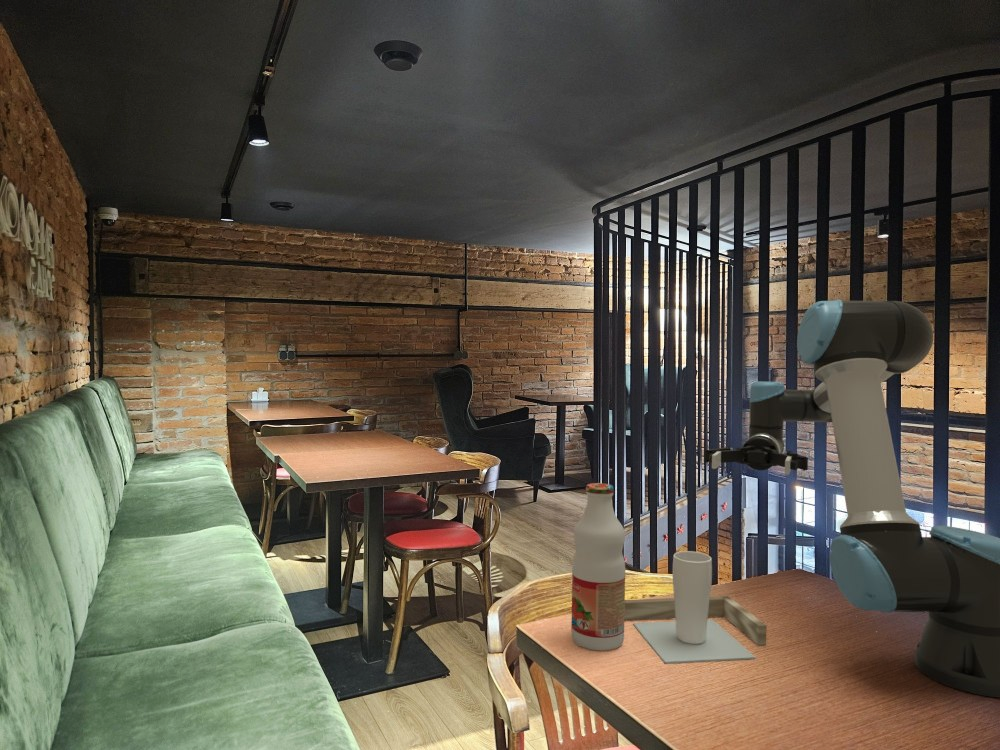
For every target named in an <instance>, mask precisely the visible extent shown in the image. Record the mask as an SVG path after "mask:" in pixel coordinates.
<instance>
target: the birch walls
mask: <svg viewBox="0 0 1000 750" xmlns="http://www.w3.org/2000/svg"><path fill="white" fill-rule="evenodd" d="M721 617H722V618H725V619H726V620H728V621H729V622H730V623H731V624H732V625H733V626H734V627H736V628H737V629H738V630H739V631H740V632H742V633H743V634H744V635H745V636H747V638H748V639H750V640H751V641H753V642H754V643H755V644H756V645H757V646H766V645H767V629H768V628H767V626H768V625H766V624H765V623H764V622H763V621H761V620H760V619H759V618H757V616H755V615H754V614H752V613H751V612H750V611H748V609H745V608H744V606H742V605H740V604H739V603H738V602H737V601H735V600H734V599H732V598H731V597H730V596H728V595H720V596H718V595H717V596H710V602H709V611H708V618H721ZM670 618H675V605H674V597H665V598H662V597H661V598H642V599H641V598H640V599H639V598H638V599H625V615H624V622H627V621H629V620H630V621H648V620H649V621H653V620H671V619H670ZM626 620H627V621H626ZM630 621H629V622H630Z"/></svg>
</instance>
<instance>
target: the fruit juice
mask: <svg viewBox="0 0 1000 750" xmlns="http://www.w3.org/2000/svg"><path fill="white" fill-rule="evenodd" d="M614 488H615V487H614V486H613V484H609V483H601V482H595V483H588V484H587V485H586V486H585V491H586V493H585V495H586V496H587V502H586V506H585V509H584V512H583V514H582V516H581V517H580V519H579V520H578V521H577V523H576V524H575V526H574V529H573V541H574V544H575V553H574V554H573V559H572V564H571V565H572V568H571V578H572V579H571V624H570V626H571V629H570V630H571V638H572V640H573V642H574V643H575V644H576V645H577V646H579V647H581V646H582V648H584V649H588V650H591V651H604V652H605V651H611V650H615V649H618V648H619V647H621V646H622V645H623V643H624V639H625V621H624V615H625V600H626V562H625V558H624V556H623V548H624V545H625V542H626V541H625V540H626V534H625V533H626V532H625V529H624V527H623V525H622V523H621V522H620V520H619V519H618V518H617V516H616V513H615V510H614V506H613V501H612V500H613V496H614V494H615V493H614V492H615V490H614Z"/></svg>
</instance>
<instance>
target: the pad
mask: <svg viewBox="0 0 1000 750" xmlns="http://www.w3.org/2000/svg"><path fill="white" fill-rule="evenodd" d="M632 625H633V626H634V627H635V629H636V630H637V631H638V633H639V634H640V635H641V636H642V638H643V639H644V640H645V641H646V642H647V644H649V646H650V647H651V649H653V651H654V652H655V653H656V654H657V656H658V657H659V658H660V659H661V661H662V662H663V663H664V664H665V665H667V664H668V665H670V664H685V663H703V662H705V663H706V662H708V663H709V662H725V661H726V662H727V661H742V660H743V661H747V660H756V656H755V655H754V654H752V652H750V651H749V650H748V649H747V648H746V647H745V646H744V645H742V644H741V643H740V642H739V641H738V640H737V639H736V638H734V637H733V636H732V635H731V634H730V633H728V632H727V630H725V629H724V628H723V627H722V626H721V625H720V624H718V623H717V622H716V621H715V620H714V619H708V620H707V636H706V640H705V641H704V642H703V643H700V644H689V643H685V642H683V641H681V640H679V639H678V638H677V636H676V621H675V620H674V621H656V622H653V621H651V622H633V623H632Z"/></svg>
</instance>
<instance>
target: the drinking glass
mask: <svg viewBox="0 0 1000 750" xmlns="http://www.w3.org/2000/svg"><path fill="white" fill-rule="evenodd" d="M672 559H673V560H672V586H673V587H672V588H673V589H672V590H673V598H674V605H675V619H674V621H676V636H677V638H678V639H679V640H681V641H683V642H685V643H689V644H700V643H703V642H704V641H705V640H706V636H707V620H709V617H708V611H709V602H710V597H711V591H712V579H713V563H712V562H713V561H712V557H711V556H710V555H708V554H706V553H703V552H698V551H693V550H691V551H690V550H683V551H678V552H675V553H674V554H673V557H672Z"/></svg>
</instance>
